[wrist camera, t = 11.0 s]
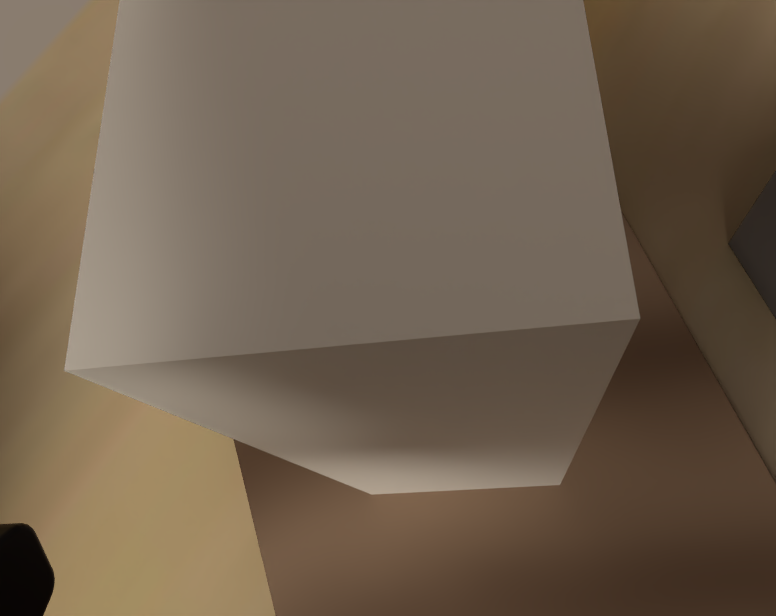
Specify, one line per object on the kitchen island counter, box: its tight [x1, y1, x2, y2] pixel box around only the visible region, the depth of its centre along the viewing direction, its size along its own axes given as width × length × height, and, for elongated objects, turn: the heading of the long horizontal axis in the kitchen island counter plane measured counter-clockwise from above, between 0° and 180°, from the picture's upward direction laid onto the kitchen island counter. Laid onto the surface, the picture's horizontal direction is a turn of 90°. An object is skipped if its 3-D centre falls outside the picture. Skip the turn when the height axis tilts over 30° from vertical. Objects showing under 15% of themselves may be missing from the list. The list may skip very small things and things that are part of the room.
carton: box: [64, 0, 640, 495], centre depth 12 cm, size 5×5×13 cm
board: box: [234, 212, 776, 616], centre depth 19 cm, size 15×13×1 cm
